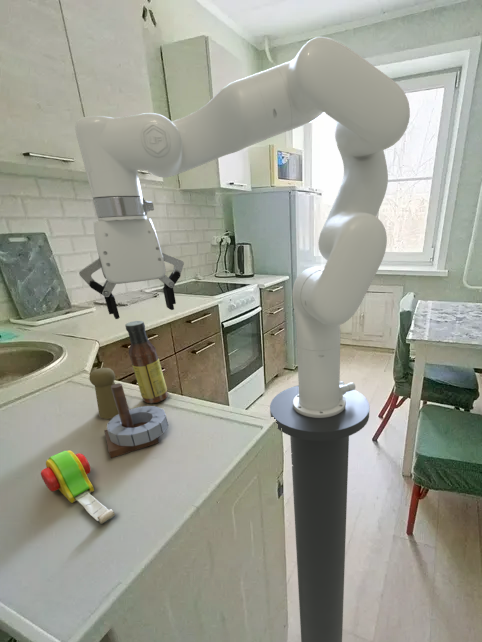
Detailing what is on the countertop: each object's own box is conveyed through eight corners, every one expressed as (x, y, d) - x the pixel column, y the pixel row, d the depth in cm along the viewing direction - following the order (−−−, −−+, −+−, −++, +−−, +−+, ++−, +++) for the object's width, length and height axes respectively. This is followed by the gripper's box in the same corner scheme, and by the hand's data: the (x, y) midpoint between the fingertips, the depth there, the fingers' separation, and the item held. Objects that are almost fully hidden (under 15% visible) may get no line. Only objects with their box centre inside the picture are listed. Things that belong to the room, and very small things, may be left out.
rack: (150, 423, 79) (136, 372, 73) (158, 442, 72) (144, 387, 66) (106, 436, 75) (88, 383, 69) (110, 458, 68) (92, 401, 62)
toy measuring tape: (76, 463, 67) (65, 434, 64) (128, 509, 55) (118, 477, 52) (39, 482, 62) (25, 451, 60) (87, 536, 51) (73, 502, 48)
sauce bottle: (168, 391, 93) (151, 317, 84) (169, 401, 87) (151, 324, 79) (142, 396, 91) (122, 321, 82) (141, 407, 86) (120, 328, 77)
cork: (107, 421, 80) (93, 377, 75) (94, 414, 84) (80, 371, 79) (131, 410, 85) (120, 368, 80) (118, 403, 88) (106, 362, 83)
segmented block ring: (163, 411, 80) (161, 401, 79) (171, 435, 71) (169, 424, 70) (109, 425, 76) (106, 414, 75) (111, 452, 67) (107, 441, 66)
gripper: (168, 209, 65) (184, 302, 72) (61, 213, 57) (91, 316, 65) (179, 207, 59) (195, 309, 66) (61, 212, 51) (94, 326, 59)
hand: (144, 312), depth 66 cm, fingers open, 9 cm apart
